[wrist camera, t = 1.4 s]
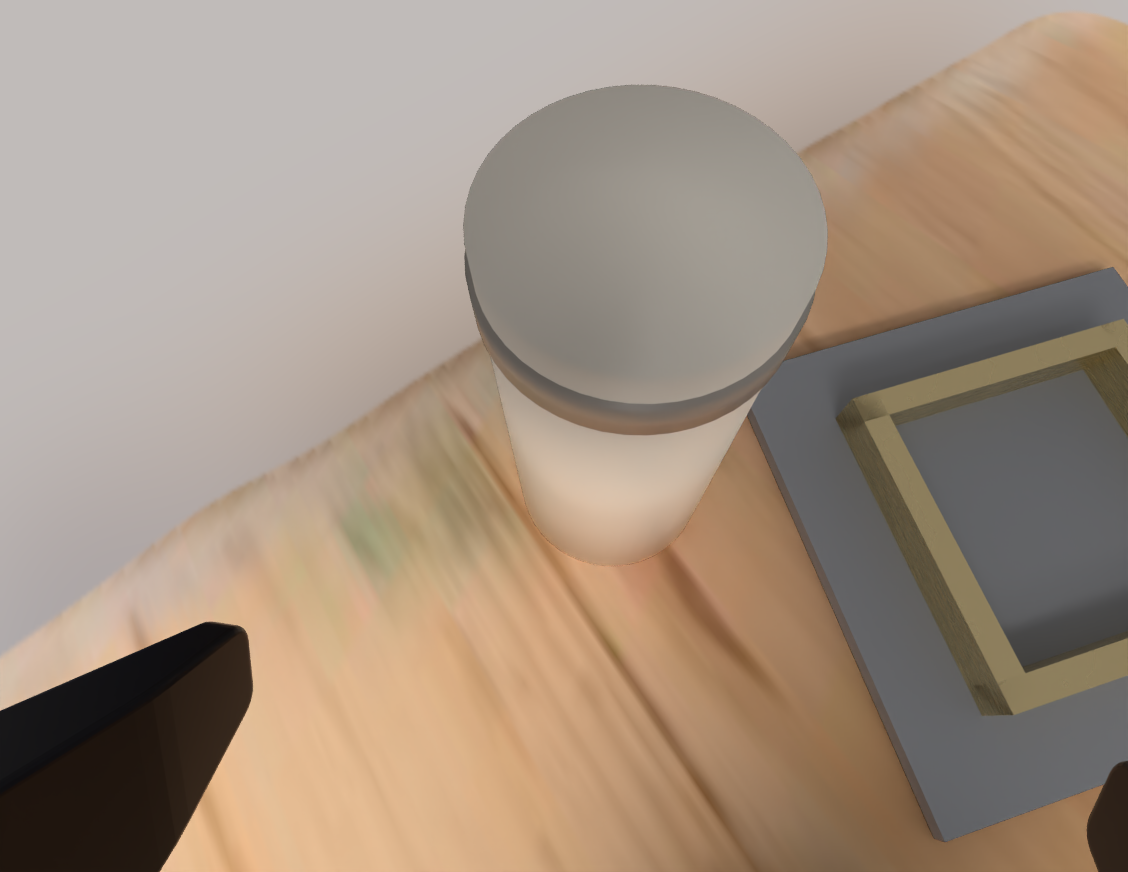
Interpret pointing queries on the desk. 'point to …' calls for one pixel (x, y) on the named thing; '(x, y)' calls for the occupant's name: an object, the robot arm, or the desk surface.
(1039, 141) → the desk surface
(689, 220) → the lidded cream canister
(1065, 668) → the collar base
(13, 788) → the robot arm
